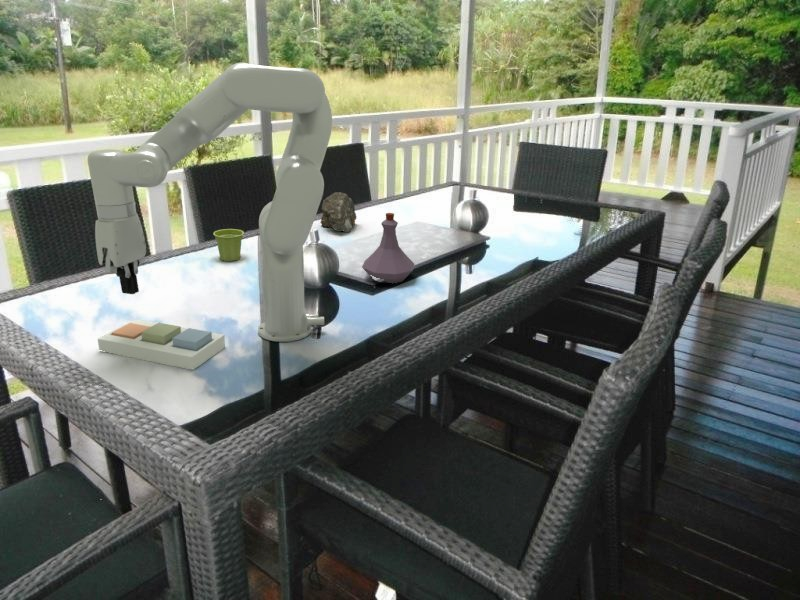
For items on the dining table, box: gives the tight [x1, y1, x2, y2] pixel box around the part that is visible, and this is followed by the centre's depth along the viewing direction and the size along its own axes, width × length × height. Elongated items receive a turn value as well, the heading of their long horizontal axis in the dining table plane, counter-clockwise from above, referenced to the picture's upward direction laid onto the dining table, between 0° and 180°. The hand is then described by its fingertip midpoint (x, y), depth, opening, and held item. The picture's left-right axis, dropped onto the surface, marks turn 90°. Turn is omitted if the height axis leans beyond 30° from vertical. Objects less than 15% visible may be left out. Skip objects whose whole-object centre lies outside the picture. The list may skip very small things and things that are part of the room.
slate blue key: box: [172, 327, 213, 351], centre depth 136 cm, size 6×6×2 cm
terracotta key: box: [112, 322, 150, 339], centre depth 141 cm, size 6×6×2 cm
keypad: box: [97, 318, 226, 371], centre depth 139 cm, size 24×12×3 cm, turn 72°
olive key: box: [141, 322, 182, 345], centre depth 139 cm, size 6×6×2 cm
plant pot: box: [213, 228, 245, 262], centre depth 201 cm, size 9×9×9 cm
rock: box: [320, 191, 358, 233], centre depth 239 cm, size 18×14×15 cm
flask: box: [361, 212, 415, 285], centre depth 186 cm, size 16×16×20 cm
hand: (130, 292), depth 138 cm, fingers closed
